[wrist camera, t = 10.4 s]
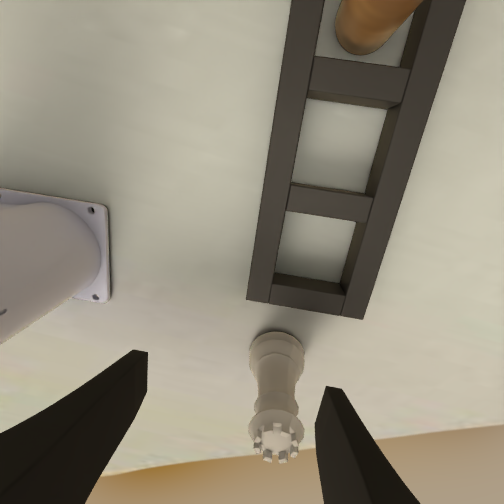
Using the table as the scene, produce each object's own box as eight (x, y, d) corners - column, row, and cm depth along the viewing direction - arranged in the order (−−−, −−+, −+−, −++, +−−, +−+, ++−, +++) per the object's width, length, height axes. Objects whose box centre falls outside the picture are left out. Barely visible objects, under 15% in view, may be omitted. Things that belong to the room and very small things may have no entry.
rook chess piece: (270, 318, 22) (266, 403, 14) (315, 347, 22) (334, 444, 15) (239, 354, 23) (220, 449, 15) (282, 381, 23) (284, 486, 16)
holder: (248, 287, 21) (245, 300, 19) (306, -87, 14) (310, -126, 12) (355, 305, 21) (363, 320, 19) (469, -68, 14) (500, -104, 12)
